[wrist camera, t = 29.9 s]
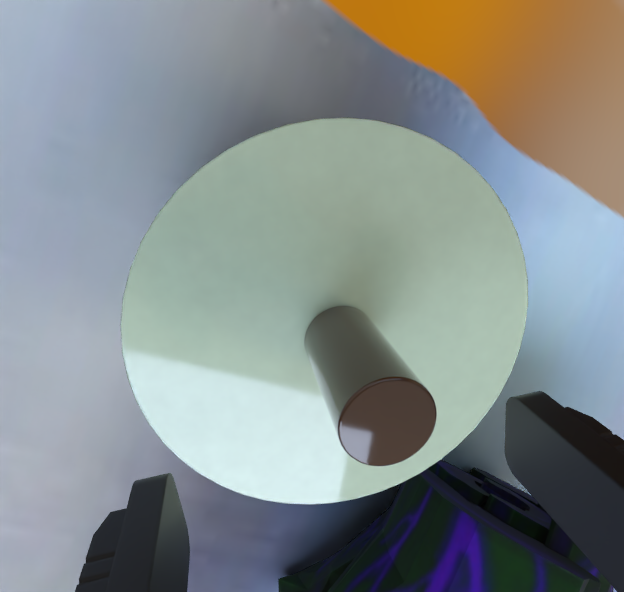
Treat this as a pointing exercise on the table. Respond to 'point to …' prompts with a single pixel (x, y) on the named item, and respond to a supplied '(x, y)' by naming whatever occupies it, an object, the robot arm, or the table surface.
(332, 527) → the table surface
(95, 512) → the table surface
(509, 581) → the decorative plant
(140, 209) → the table surface
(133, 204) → the table surface
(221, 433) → the pot lid
